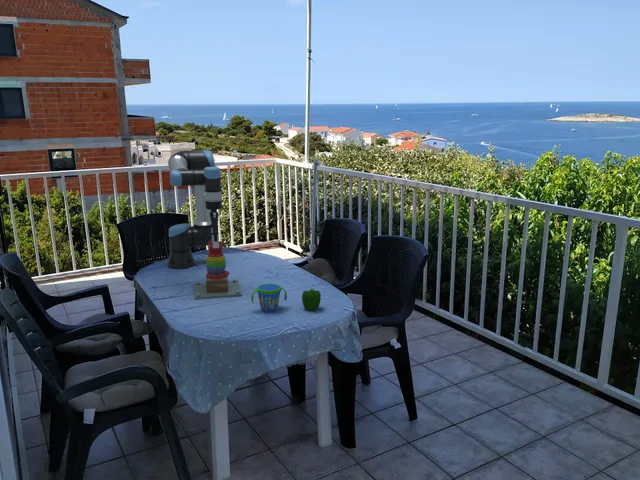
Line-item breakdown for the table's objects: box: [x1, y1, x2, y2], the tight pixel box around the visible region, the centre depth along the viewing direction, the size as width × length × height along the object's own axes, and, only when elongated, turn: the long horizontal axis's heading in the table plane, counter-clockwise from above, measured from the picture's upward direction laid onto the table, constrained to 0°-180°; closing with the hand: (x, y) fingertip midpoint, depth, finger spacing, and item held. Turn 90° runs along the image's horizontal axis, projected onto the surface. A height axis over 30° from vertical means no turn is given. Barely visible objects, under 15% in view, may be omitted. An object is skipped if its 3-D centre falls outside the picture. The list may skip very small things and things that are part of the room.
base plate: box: [193, 278, 243, 300], centre depth 254 cm, size 22×22×2 cm
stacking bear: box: [205, 240, 230, 279], centre depth 251 cm, size 11×10×18 cm
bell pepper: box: [301, 288, 322, 311], centre depth 228 cm, size 8×8×10 cm
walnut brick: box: [205, 275, 229, 293], centre depth 253 cm, size 13×10×6 cm
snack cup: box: [250, 283, 288, 313], centre depth 228 cm, size 16×10×10 cm
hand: (215, 244), depth 249 cm, fingers open, 13 cm apart
